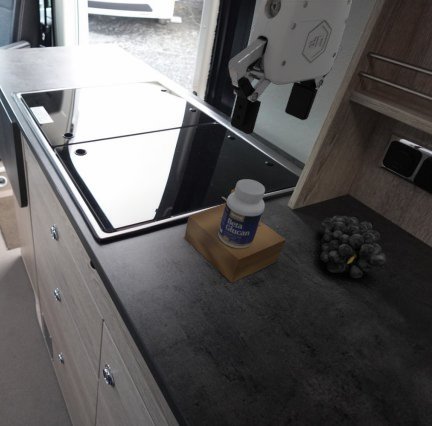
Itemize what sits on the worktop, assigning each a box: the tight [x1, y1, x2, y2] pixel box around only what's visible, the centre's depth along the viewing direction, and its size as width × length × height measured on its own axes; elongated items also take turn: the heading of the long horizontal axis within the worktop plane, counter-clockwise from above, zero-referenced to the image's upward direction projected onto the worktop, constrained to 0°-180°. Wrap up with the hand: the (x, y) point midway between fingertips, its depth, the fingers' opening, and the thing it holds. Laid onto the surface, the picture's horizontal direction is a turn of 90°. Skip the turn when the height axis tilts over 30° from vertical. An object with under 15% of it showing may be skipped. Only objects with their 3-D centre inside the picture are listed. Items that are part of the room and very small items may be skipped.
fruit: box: [319, 215, 387, 279], centre depth 61 cm, size 9×8×15 cm
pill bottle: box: [218, 178, 266, 248], centre depth 56 cm, size 5×5×10 cm
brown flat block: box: [183, 196, 286, 284], centre depth 64 cm, size 14×14×5 cm
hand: (269, 122), depth 47 cm, fingers open, 9 cm apart
